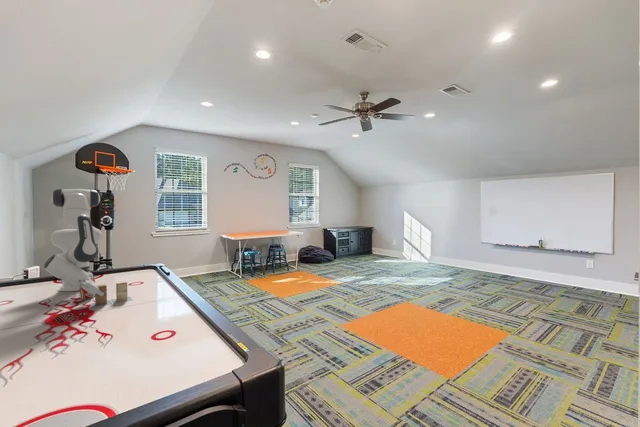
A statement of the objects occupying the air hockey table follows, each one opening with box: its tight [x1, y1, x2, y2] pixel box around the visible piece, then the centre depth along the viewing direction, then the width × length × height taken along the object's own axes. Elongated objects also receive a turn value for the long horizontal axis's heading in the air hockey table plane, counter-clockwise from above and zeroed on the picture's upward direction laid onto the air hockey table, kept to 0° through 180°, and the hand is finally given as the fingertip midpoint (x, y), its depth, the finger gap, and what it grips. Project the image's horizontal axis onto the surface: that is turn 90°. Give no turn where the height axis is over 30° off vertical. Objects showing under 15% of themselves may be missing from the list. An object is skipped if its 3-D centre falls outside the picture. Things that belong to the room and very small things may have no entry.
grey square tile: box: [89, 299, 113, 309], centre depth 157 cm, size 9×9×1 cm
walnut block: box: [94, 283, 108, 306], centre depth 157 cm, size 4×4×10 cm
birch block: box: [115, 280, 128, 302], centre depth 164 cm, size 4×4×10 cm
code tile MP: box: [110, 296, 133, 305], centre depth 164 cm, size 9×9×1 cm
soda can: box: [79, 276, 96, 300], centre depth 168 cm, size 7×7×12 cm
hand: (102, 293), depth 157 cm, fingers closed on walnut block, 4 cm apart
